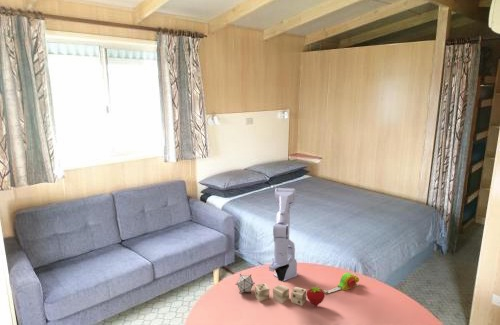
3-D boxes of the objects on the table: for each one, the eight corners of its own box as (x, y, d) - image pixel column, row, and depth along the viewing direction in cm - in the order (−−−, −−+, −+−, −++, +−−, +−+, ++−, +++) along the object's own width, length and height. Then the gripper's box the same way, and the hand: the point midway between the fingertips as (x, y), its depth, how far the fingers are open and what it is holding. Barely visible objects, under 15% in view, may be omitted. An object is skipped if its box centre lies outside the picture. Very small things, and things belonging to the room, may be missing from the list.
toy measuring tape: (363, 287, 159) (363, 274, 158) (328, 297, 152) (328, 283, 150) (353, 280, 165) (354, 267, 164) (320, 290, 157) (320, 276, 156)
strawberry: (324, 311, 142) (325, 289, 140) (306, 309, 143) (306, 287, 141) (324, 303, 147) (324, 281, 146) (306, 301, 149) (306, 280, 147)
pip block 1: (265, 293, 156) (264, 282, 155) (269, 299, 151) (269, 288, 150) (254, 295, 154) (254, 285, 153) (258, 301, 149) (258, 290, 149)
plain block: (280, 294, 155) (280, 284, 154) (289, 298, 151) (289, 288, 150) (273, 298, 151) (273, 288, 150) (281, 303, 148) (281, 293, 147)
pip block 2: (295, 296, 152) (295, 286, 152) (306, 299, 150) (306, 289, 149) (291, 302, 148) (291, 292, 147) (301, 306, 146) (302, 295, 145)
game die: (246, 301, 156) (244, 292, 149) (233, 289, 160) (230, 280, 153) (259, 286, 160) (257, 277, 153) (245, 275, 164) (243, 266, 157)
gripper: (283, 243, 155) (282, 270, 157) (263, 254, 144) (263, 284, 147) (296, 247, 150) (296, 275, 153) (277, 259, 140) (277, 289, 142)
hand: (281, 280), depth 149 cm, fingers closed
